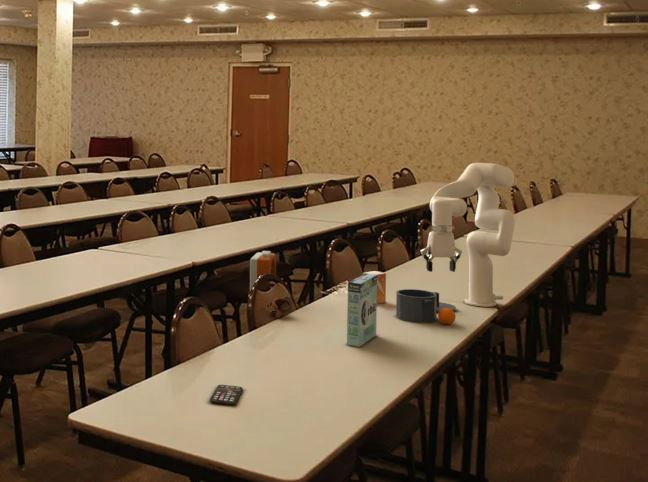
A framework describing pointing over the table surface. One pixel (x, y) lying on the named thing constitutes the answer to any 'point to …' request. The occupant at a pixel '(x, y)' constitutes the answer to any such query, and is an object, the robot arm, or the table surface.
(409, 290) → the pot
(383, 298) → the small box
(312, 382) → the table surface
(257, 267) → the alarm clock
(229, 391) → the black calculator
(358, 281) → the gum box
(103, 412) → the table surface
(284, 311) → the orange grey twisted loop
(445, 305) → the lid
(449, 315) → the ball
